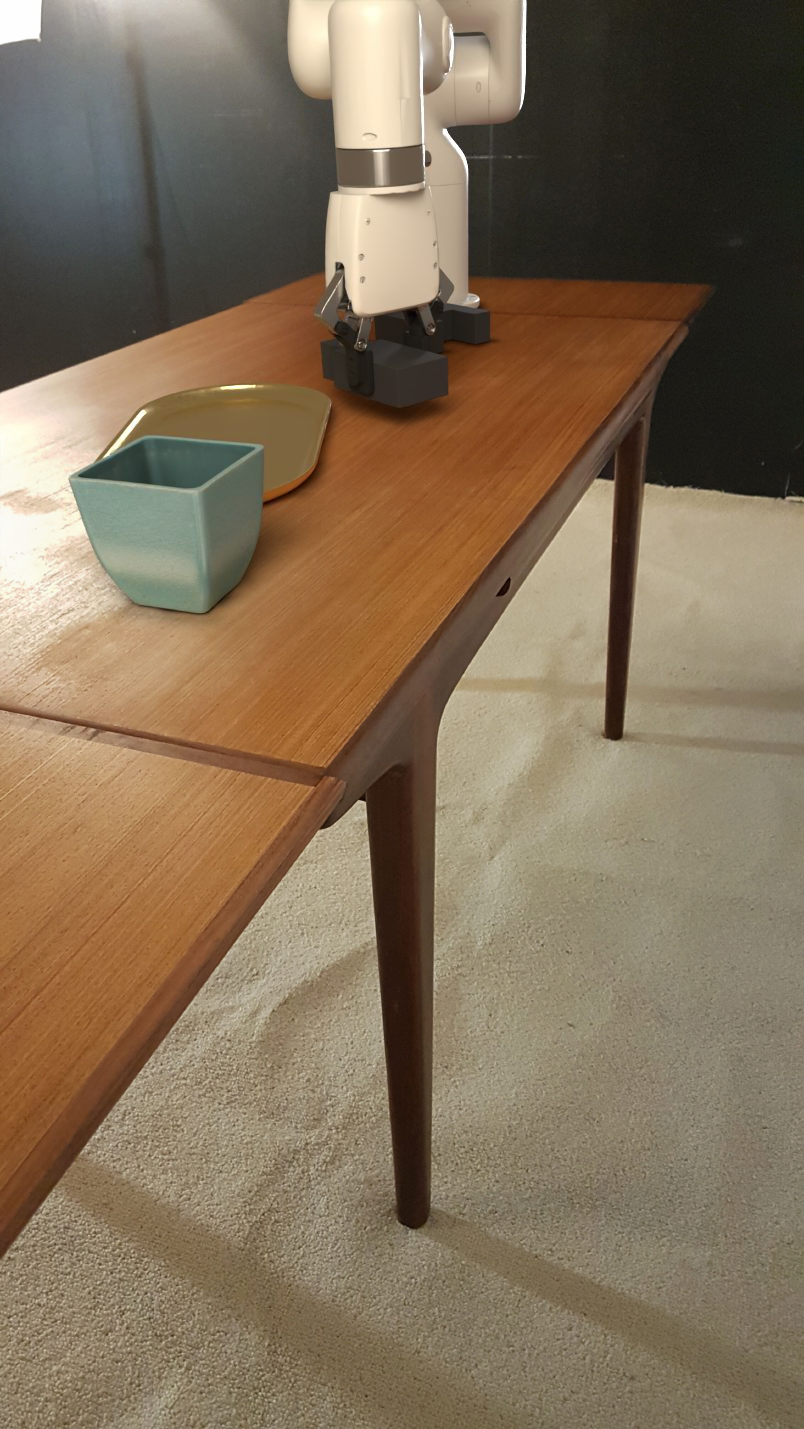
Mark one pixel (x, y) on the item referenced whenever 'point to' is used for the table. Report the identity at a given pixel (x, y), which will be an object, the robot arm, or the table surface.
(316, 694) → the table surface
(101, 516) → the flower pot
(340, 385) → the pad
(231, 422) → the serving platter
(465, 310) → the notch pad
